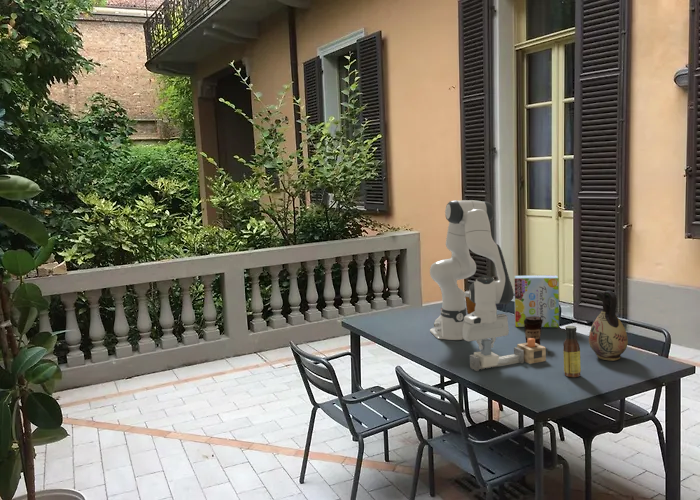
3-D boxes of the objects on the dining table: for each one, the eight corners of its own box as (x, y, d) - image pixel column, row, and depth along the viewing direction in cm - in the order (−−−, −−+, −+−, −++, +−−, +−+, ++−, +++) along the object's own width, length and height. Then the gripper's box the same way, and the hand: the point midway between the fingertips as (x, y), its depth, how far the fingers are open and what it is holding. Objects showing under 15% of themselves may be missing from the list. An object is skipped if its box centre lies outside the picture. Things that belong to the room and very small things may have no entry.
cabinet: (517, 357, 266) (517, 344, 265) (532, 354, 268) (532, 341, 267) (530, 363, 257) (530, 350, 256) (545, 361, 259) (546, 347, 259)
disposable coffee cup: (471, 309, 350) (471, 289, 348) (485, 312, 343) (484, 291, 341) (460, 313, 344) (460, 292, 342) (474, 315, 337) (474, 294, 335)
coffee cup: (543, 348, 276) (543, 320, 275) (524, 347, 278) (524, 320, 276) (541, 342, 285) (541, 315, 283) (523, 342, 287) (523, 315, 285)
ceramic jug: (582, 353, 268) (582, 286, 263) (616, 350, 269) (617, 284, 264) (600, 365, 251) (601, 294, 246) (636, 363, 252) (638, 292, 247)
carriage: (474, 362, 258) (473, 338, 256) (488, 360, 260) (488, 336, 259) (484, 368, 250) (483, 343, 249) (498, 365, 253) (498, 341, 251)
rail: (470, 367, 256) (469, 354, 255) (516, 359, 263) (516, 347, 262) (476, 371, 251) (476, 358, 250) (523, 362, 258) (523, 350, 258)
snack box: (558, 323, 315) (558, 274, 311) (559, 328, 306) (559, 278, 302) (514, 322, 320) (514, 274, 316) (514, 327, 312) (514, 277, 308)
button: (525, 349, 263) (525, 338, 262) (532, 348, 264) (532, 337, 263) (530, 351, 260) (530, 340, 259) (536, 350, 261) (536, 339, 260)
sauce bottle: (583, 374, 242) (583, 326, 239) (576, 379, 237) (577, 330, 234) (566, 371, 246) (567, 323, 243) (560, 375, 242) (560, 327, 239)
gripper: (503, 311, 259) (503, 342, 261) (460, 317, 252) (460, 349, 254) (511, 314, 253) (511, 347, 255) (468, 321, 246) (468, 354, 248)
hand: (486, 348), depth 254 cm, fingers closed on carriage, 3 cm apart
